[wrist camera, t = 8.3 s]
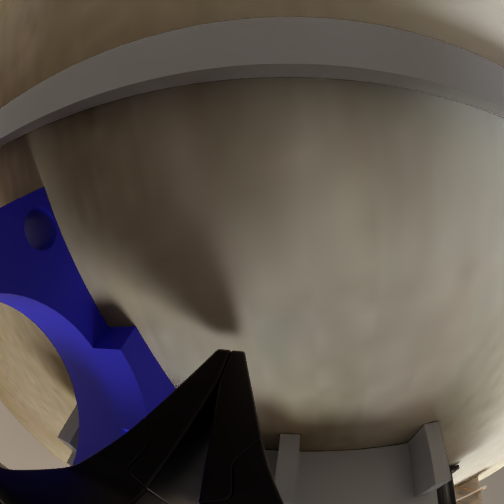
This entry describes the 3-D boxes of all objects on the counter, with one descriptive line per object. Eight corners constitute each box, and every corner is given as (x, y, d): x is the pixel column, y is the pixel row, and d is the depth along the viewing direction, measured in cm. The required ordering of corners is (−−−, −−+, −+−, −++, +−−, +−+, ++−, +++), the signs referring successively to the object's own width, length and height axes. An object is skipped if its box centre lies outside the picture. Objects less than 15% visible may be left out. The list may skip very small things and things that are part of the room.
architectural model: (442, 488, 22) (446, 524, 15) (480, 469, 19) (486, 505, 12) (447, 488, 23) (451, 521, 16) (483, 470, 20) (489, 504, 13)
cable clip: (195, 411, 12) (162, 513, 7) (128, 402, 13) (89, 483, 8) (71, 171, 7) (-85, 255, 2) (13, 207, 8) (-89, 276, 3)
